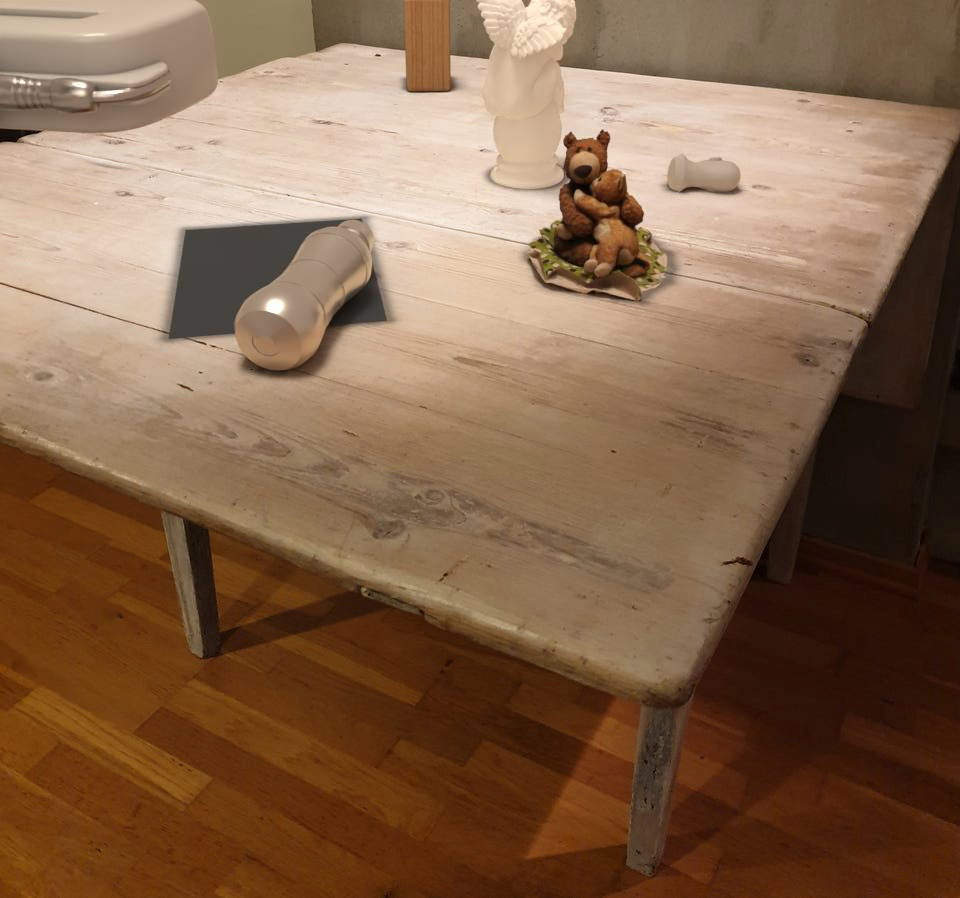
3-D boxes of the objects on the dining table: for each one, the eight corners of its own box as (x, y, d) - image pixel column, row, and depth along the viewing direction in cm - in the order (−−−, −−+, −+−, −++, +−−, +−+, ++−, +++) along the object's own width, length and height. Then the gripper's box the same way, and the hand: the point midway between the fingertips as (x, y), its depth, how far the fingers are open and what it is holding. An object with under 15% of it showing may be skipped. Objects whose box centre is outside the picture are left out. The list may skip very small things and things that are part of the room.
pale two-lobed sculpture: (733, 196, 112) (740, 198, 107) (663, 191, 113) (667, 193, 108) (738, 157, 111) (745, 157, 106) (668, 153, 112) (672, 152, 107)
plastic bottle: (235, 379, 76) (327, 269, 91) (315, 383, 74) (395, 270, 90) (214, 305, 72) (314, 204, 88) (298, 307, 70) (384, 203, 86)
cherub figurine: (553, 163, 118) (562, -37, 106) (601, 196, 109) (618, -19, 96) (460, 175, 114) (459, -30, 102) (502, 211, 105) (506, -11, 92)
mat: (169, 344, 80) (168, 338, 79) (186, 234, 99) (185, 229, 99) (387, 325, 82) (387, 320, 82) (362, 222, 102) (361, 218, 102)
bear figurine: (514, 297, 87) (518, 163, 80) (537, 234, 99) (541, 113, 92) (668, 310, 85) (685, 173, 78) (671, 244, 97) (686, 121, 90)
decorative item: (449, 81, 151) (447, -63, 140) (450, 92, 145) (449, -57, 134) (406, 81, 150) (401, -63, 139) (406, 92, 145) (401, -57, 134)
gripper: (109, 0, 30) (260, -58, 41) (-458, -23, 33) (-171, -72, 44) (147, 196, 34) (276, 93, 45) (-367, 162, 36) (-123, 72, 48)
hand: (52, 11), depth 45 cm, fingers closed
